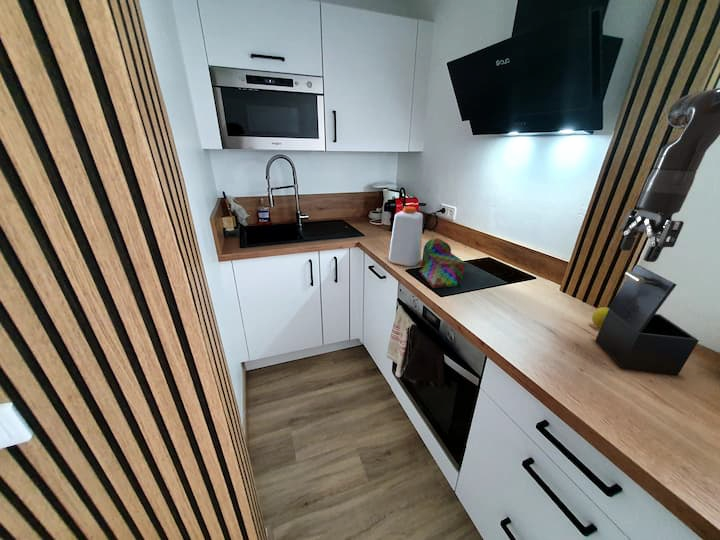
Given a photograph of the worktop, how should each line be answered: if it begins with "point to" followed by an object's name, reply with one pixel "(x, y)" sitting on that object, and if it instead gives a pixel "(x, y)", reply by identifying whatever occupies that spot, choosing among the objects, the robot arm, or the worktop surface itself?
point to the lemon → (599, 316)
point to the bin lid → (641, 297)
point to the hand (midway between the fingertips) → (636, 255)
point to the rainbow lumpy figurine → (441, 264)
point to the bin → (646, 345)
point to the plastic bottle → (406, 237)
